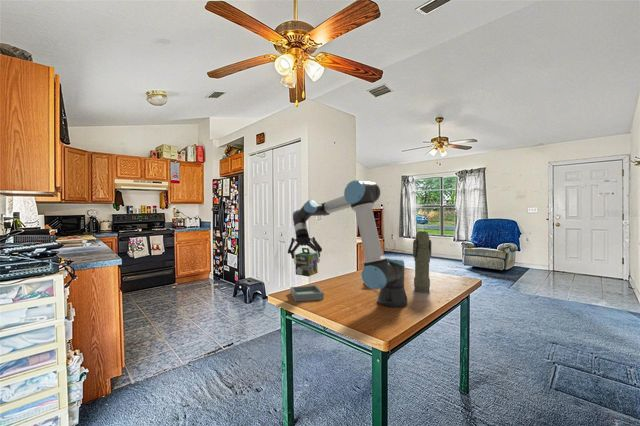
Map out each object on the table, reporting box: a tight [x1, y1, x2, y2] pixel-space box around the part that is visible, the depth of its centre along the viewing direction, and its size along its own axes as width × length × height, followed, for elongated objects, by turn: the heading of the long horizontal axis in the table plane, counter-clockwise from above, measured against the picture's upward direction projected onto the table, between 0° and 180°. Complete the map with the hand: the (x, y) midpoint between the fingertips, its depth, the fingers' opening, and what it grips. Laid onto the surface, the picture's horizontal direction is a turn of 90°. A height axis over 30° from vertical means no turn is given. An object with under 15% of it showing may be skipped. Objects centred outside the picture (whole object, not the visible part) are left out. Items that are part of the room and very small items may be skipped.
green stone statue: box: [412, 230, 432, 293], centre depth 174 cm, size 9×12×35 cm
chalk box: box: [294, 247, 318, 278], centre depth 162 cm, size 9×9×15 cm
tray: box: [290, 284, 325, 303], centre depth 163 cm, size 15×15×4 cm
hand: (307, 262), depth 160 cm, fingers closed on chalk box, 12 cm apart
